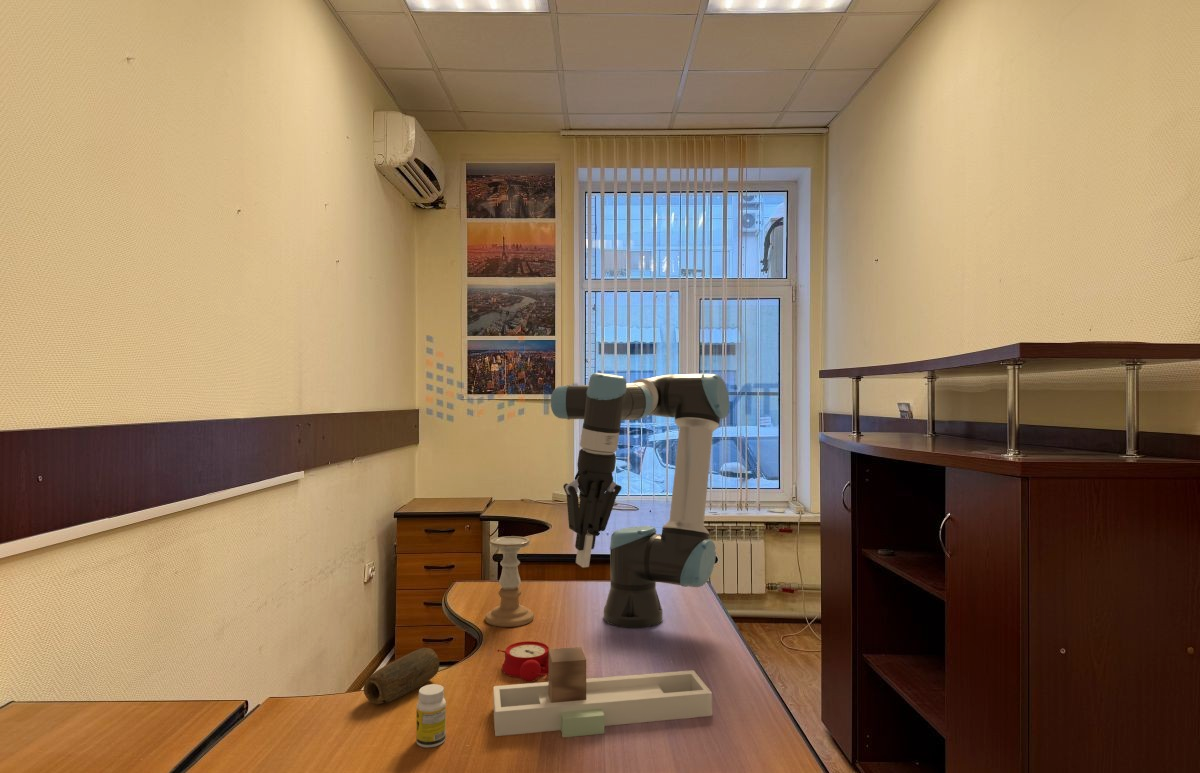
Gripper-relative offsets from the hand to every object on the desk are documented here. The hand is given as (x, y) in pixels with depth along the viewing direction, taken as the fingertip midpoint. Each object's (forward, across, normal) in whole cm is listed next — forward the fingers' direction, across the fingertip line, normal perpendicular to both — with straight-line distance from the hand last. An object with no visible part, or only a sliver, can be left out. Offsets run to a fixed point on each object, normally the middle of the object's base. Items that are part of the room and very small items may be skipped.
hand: (582, 564), depth 132 cm
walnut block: (+19, -10, -15) cm, 26 cm away
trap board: (+20, -4, -18) cm, 27 cm away
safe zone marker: (+21, -8, -16) cm, 28 cm away
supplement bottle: (+23, -33, -10) cm, 41 cm away
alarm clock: (+25, -5, +5) cm, 26 cm away
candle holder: (+29, +6, +36) cm, 46 cm away
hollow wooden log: (+27, -31, +10) cm, 42 cm away
